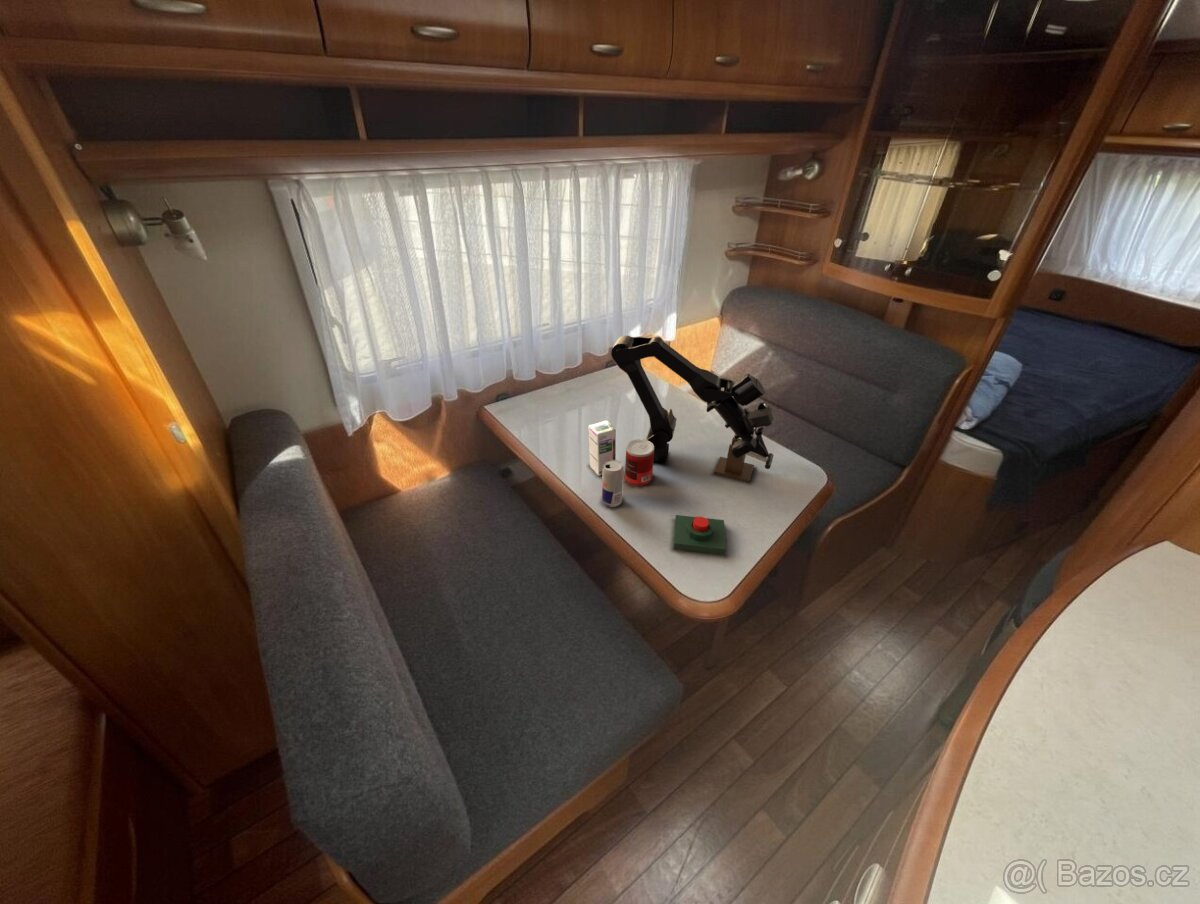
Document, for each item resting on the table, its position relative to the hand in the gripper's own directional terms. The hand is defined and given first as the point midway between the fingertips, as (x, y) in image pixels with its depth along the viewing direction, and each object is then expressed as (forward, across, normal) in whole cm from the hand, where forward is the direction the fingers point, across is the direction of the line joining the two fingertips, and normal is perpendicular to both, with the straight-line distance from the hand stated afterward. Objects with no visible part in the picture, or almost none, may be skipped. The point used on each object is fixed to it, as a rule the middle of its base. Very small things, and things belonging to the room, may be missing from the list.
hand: (767, 456), depth 132 cm
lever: (-2, 0, +4) cm, 5 cm away
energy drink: (-20, -27, +30) cm, 45 cm away
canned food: (-18, -15, +28) cm, 36 cm away
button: (-5, -31, +10) cm, 33 cm away
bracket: (0, 0, +11) cm, 11 cm away
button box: (-2, -31, +13) cm, 33 cm away
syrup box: (-26, -15, +36) cm, 47 cm away
